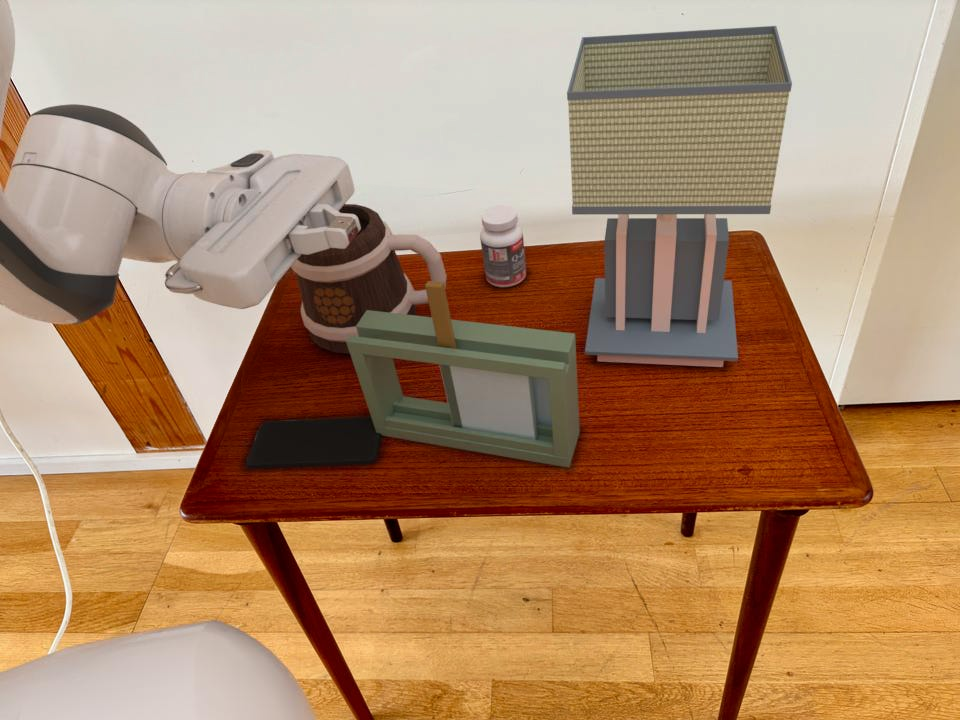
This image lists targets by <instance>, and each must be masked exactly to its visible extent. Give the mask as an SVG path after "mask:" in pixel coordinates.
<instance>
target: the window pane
mask: <svg viewBox="0 0 960 720" xmlns="http://www.w3.org/2000/svg"><path fill="white" fill-rule="evenodd" d="M424 289H425V290H426V293H427V297H428V302H429V303H428V306H429V310H430V315H431V317H432V320H433V325H434V329H435V334H436V338H437V343H438V347H444V348H452V349H457V347H456V342H455V337H454V332H453V327H452V322H451V320H452V317H451V311H450V307H449V302H448V297H447V291H446V287H445V286H444V283H443V282H434V281H431V280H427V281H426V283H425V285H424ZM438 365H439V369H440V373H441V378H442V382H443V388H444V392H445V396H446V399H447V400H446V401H447V403H448V405H449V410H450V414H451V419H452V423H453V427H458V428H464V429H470V430H476V431H483V432H489V433H495V434H501V435H507V436H513V437H520V438H526V439H532V440H537V437H538V434H537V425H536V415H535V406H534V397H533V387H532V378H531V377H530V376H523V375H515V374H508V373H500V372H493V371H486V370H478V369H471V368H463V367H456V366H448V365H441V364H438Z"/></svg>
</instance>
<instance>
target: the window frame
mask: <svg viewBox="0 0 960 720" xmlns="http://www.w3.org/2000/svg"><path fill="white" fill-rule="evenodd" d="M451 322H452V327H453V332H454V337H455V342H456V347H457V349H452V348H444V347H438V343H437V338H436V334H435V329H434V325H433V320H432V316H431V317H430V316H424V315H423V316H421V315H406V314H397V313H388V312H379V311H370V310H367V311H366V312H365V313H364V315H363V316H362V318H361V319H360V321H359V322H358V324H357V325H356V329H357V332H358V335H359V337H357V336H349V337H348V339H347V340H346V343H347V346H348V349H349V352H350V354H349V355H350V358H351V361H352V364H353V367H354V370H355V372H356V375H357V379H358V381H359V384H360V388H361V391H362V394H363V397H364V400H365V402H366V405H367V409H368V411H369V415H370V416H371V418H372V421H373V424H374V427H375V430H376V432H377V433H381V434H382V437H388V438H394V439H399V440H405V441H412V442H418V443H424V444H429V445H434V446H440V447H446V448H452V449H457V450H464V451H469V452H475V453H481V454H487V455H493V456H499V457H504V458H511V459H515V460H522V461H526V462H533V463H540V464H546V465H551V466H555V467H556V466H557V467H562V468H568V469H569V468H570V467H571V463H572V460H573V457H574V454H575V450H576V447H577V443H578V439H579V436H580V429H581V428H580V408H579V393H578V392H579V390H578V389H579V387H578V366H577V346H576V333H574V332H566V331H565V332H564V331H557V330H547V329H538V328H530V327H520V326H519V327H518V326H512V325H503V324H494V323H485V322H478V321H477V322H476V321H468V320H457V319H451ZM394 359H395V360H396V359H397V360H403V361H412V362H419V363H427V364H434V365H439V364H441V365H448V366H456V367H463V368H471V369H478V370H486V371H493V372H500V373H508V374H515V375H523V376H530V377H531V378H532V387H533V397H534V406H535V415H536V425H537V434H538V437H537V440H532V439H526V438H520V437H513V436H507V435H501V434H495V433H489V432H483V431H476V430H470V429H464V428H458V427H453V423H452V419H451V414H450V410H449V405H448V402H445V401H438V400H431V399H424V398H417V397H410V396H405V395H404V394H403V391H402V386H401V384H400V380H399V377H398V372H397V369H396V365H395V362H394Z"/></svg>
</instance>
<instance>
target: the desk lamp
mask: <svg viewBox="0 0 960 720" xmlns="http://www.w3.org/2000/svg"><path fill="white" fill-rule="evenodd" d="M571 73H572V74H571V77H570V80H569V84H568V87H567V91H566V100H567V104H568V127H569V128H568V129H569V150H570V173H571V174H570V175H571V176H570V177H571V197H572V198H571V199H572V200H571V201H572V205H571V212H572V213H571V214H572V215H575V216H576V215H578V216H579V215H582V216H583V215H617V217H616V218H615V217H613V218H612V217H610V218H609V217H608V218H607V219H606V227H605V235H604V277H603V278H601V277H600V278H598V277H595V278H594V285H593V292H592V299H591V306H590V313H589V321H588V327H587V335H586V340H585V348H584V355H586V356H597V357H596V361H597V362H603V363H604V362H605V363H627V364H646V365H647V364H648V365H666V366H667V365H670V366H689V367H690V366H691V367H692V366H693V367H711V368H713V367H714V368H715V367H716V368H723V367H724V362H727V361H728V362H738V360H739V354H738V340H737V330H736V318H735V317H736V316H735V306H734V305H735V303H734V295H733V283H732V282H733V281H732V280H725V275H726V268H727V261H728V260H727V258H728V252H729V244H730V235H729V226H728V225H729V224H728V218H727V217H724V218H723V217H716V215H770V214H771V210H772V198H773V193H774V186H775V180H776V175H777V168H778V163H779V157H780V152H781V145H782V139H783V134H784V128H785V123H786V114H787V109H788V104H789V98H790V92H792V86H793V81H792V78H791V74H790V70H789V67H788V63H787V60H786V56H785V52H784V48H783V45H782V41H781V38H780V34H779V31H778V27H777V25H766V26H765V25H764V26H747V27H732V28H716V29H715V28H714V29H698V30H684V31H683V30H681V31H665V32H664V31H663V32H648V33H633V34H631V33H629V34H614V35H613V34H611V35H598V36H582V37H581V40H580V45H579V48H578V51H577V55H576V58H575V62H574V66H573V70H572V72H571ZM630 215H656V217H647V218H645V217H643V218H642V217H637V218H635V217H634V218H633V217H632V218H631V217H630ZM677 215H703V218H702V217H700V218H699V217H685V218H684V217H677Z"/></svg>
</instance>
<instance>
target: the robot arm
mask: <svg viewBox="0 0 960 720" xmlns="http://www.w3.org/2000/svg"><path fill="white" fill-rule="evenodd" d="M13 17H14V16H13V14H12V10H11V6H10V3H9V1H8V0H0V138H2V137H1V136H2V128H3V121H4V114H5V108H6V103H7V98H8V94H9V87H10V83H11V79H12V72H13V66H14V60H15V51H16V30H15V29H16V28H15V23H14V22H15V21H14V18H13ZM167 166H168V162H167V161H166V159H165V158H164V156H163V155H162V153H161V152H160V151H159V149H158V148H157V147H156V146H155V144H154V143H153V142H152V140H150V138H149V137H148V135H147V134H146V133H144V131H143V130H142V129H141V128H140V127H139V126H137V125H136V124H134V123H133V122H132V121H130V120H129V119H127V118H125V117H124V116H122V115H120V114H118V113H117V112H114V111H111V110H108V109H104V108H101V107H97V106H92V105H85V104H73V103H71V104H70V103H69V104H59V105H53V106H48V107H45V108H41V109H39V110H37V111H35V112H33V113H31V114H29V116H28V120H27V122H26V124H25V126H24V128H23V132H22V134H21V137H20V140H19V144H18V145H17V148H16V151H15V154H14V157H13V159H12V163H11V167H10V171H9V175H8V178H7V181H6V185H5V186H4V189H3V187H2V183H1V182H0V305H1V306H3V307H5V308H6V309H8V310H9V311H11V312H14V313H15V314H17V315H20V316H22V317H25V318H28V319H31V320H34V321H37V322H42V323H47V324H52V325H53V324H54V325H55V324H56V325H70V326H76V325H79V324H82V323H84V322H86V321H89V320H90V319H93V318H95V317H96V316H98V315H100V314H101V313H103V312H104V311H106V310H107V309H108V308H110V307H111V306H112V305H114V302H115V298H116V293H117V292H116V291H117V287H118V282H119V278H120V273H119V271H120V268H121V264H122V261H123V259H126V260H131V261H137V262H146V263H153V264H154V263H155V264H156V263H157V264H165V263H169V262H173V261H175V262H176V263H175V264H173V265H171V266H170V267H169V268H168V269H167V270H166V272H165V274H164V277H165V280H164V286H165V288H166V289H167V290H168V291H169V292H171V293H174V294H182V295H192V294H193V296H194V297H195V298H197V299H199V300H201V301H205V302H207V303H211V304H214V305H218V306H222V307H227V308H232V309H238V310H245V309H249V308H252V307H256V306H258V305H260V304H261V302H262V301H263V300H264V299H265V298H266V296H267V295H268V294H269V293H270V292H271V291H272V290H273V288H274V287H275V286H276V285H277V284H278V282H280V280H281V279H282V278H283V276H285V274H287V272H288V271H289V270H290V269H291V266H292V265H293V264H294V263H295V261H296V260H297V259H298V258H299V257H300V256H301V254H306V255H309V254H312V253H316V252H319V251H323V250H326V249H329V248H340V249H345V248H346V247H347V246H348V245H349V244H350V242H351V241H352V239H353V238H354V237H355V236H356V235H357V233H358V232H359V231H360V229H361V226H360V223H359V219H358V217H357V216H356V215H354V214H346V213H340V212H339V210H340V209H341V208H342V206H343V205H344V204H347V202H348V201H349V200H350V199H351V198H352V197H353V195H354V194H355V190H356V189H355V184H354V181H353V177H352V173H351V169H350V167H349V164H348V163H347V162H346V161H344V160H343V159H342V158H340V157H337V156H332V155H321V154H320V155H319V154H303V153H301V154H300V153H297V154H296V153H295V154H294V153H293V154H284V155H281V156H277V157H275V156H274V154H273V152H272V151H270V150H264V149H260V150H259V149H258V150H254V151H252V152H250V153H248V154H247V155H244V156H243V157H241V158H238V159H237V160H235V161H232V162H230V163H228V164H225V165H221V166H217V167H215V168H211V169H208V170H207V171H206V172H193V171H192V172H186V173H176V172H173V171H171V170H169V169H168V168H167ZM0 720H318V718H317V716H316V713H315V710H314V708H313V706H312V704H311V702H310V700H309V698H308V696H307V694H306V693H305V691H304V689H303V686H301V684H300V683H299V681H298V680H297V678H296V677H295V675H294V674H293V672H292V671H291V670H290V669H289V668H288V667H287V666H286V664H285V663H284V662H283V661H282V660H281V659H280V658H279V657H278V656H277V655H276V654H275V653H274V652H273V651H272V650H271V649H269V648H268V647H267V646H265V645H264V644H263V643H262V642H261V641H259V640H258V639H256V638H255V637H253V636H251V635H250V634H248V633H246V632H245V631H243V630H241V629H240V628H238V627H235V626H233V625H231V624H229V623H226V622H225V621H222V620H217V619H211V620H210V619H209V620H204V621H203V620H202V621H197V622H192V623H186V624H179V625H174V626H167V627H162V628H156V629H150V630H143V631H137V632H133V633H129V634H124V635H119V636H113V637H109V638H104V639H99V640H94V641H88V642H85V643H84V642H83V643H79V644H74V645H69V646H66V647H64V648H61V649H58V650H56V651H53V652H51V653H48V654H46V655H42V656H40V657H37V658H35V659H32V660H30V661H26V662H24V663H22V664H19V665H17V666H14V667H11V668H8V669H6V670H4V671H1V672H0Z"/></svg>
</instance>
